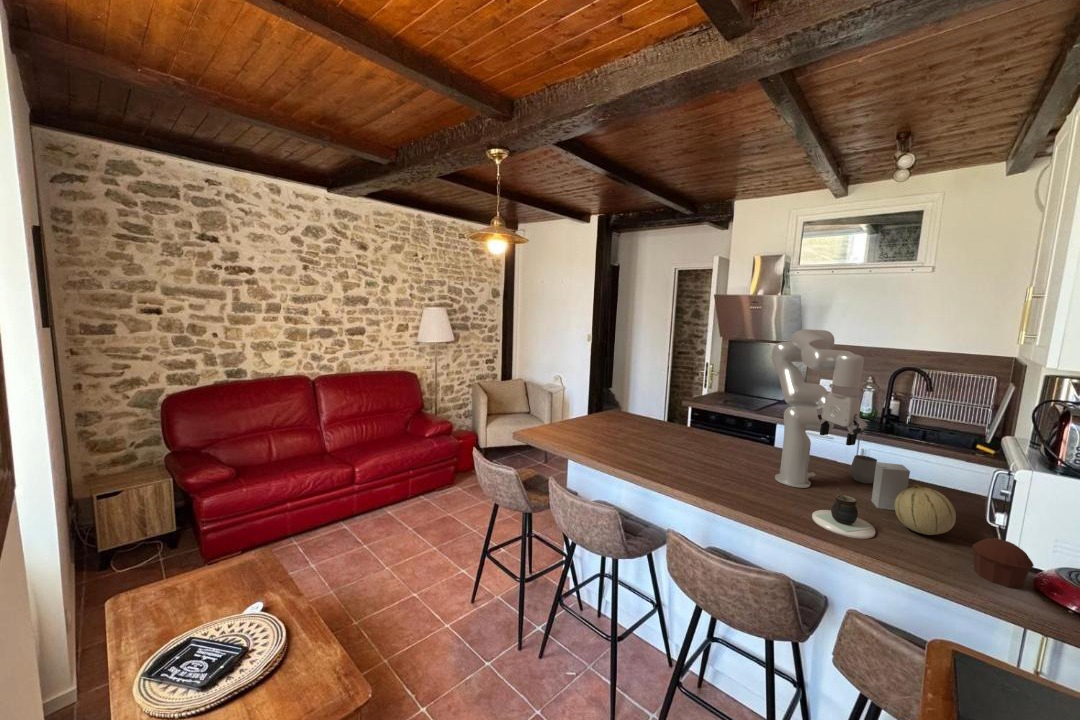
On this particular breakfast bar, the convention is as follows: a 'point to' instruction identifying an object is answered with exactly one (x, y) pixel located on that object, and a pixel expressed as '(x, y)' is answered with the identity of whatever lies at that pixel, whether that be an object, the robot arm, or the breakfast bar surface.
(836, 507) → the mate gourd
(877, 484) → the skincare box
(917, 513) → the cantaloupe
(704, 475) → the breakfast bar surface
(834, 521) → the stand
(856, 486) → the breakfast bar surface
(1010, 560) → the muffin
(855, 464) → the cup
